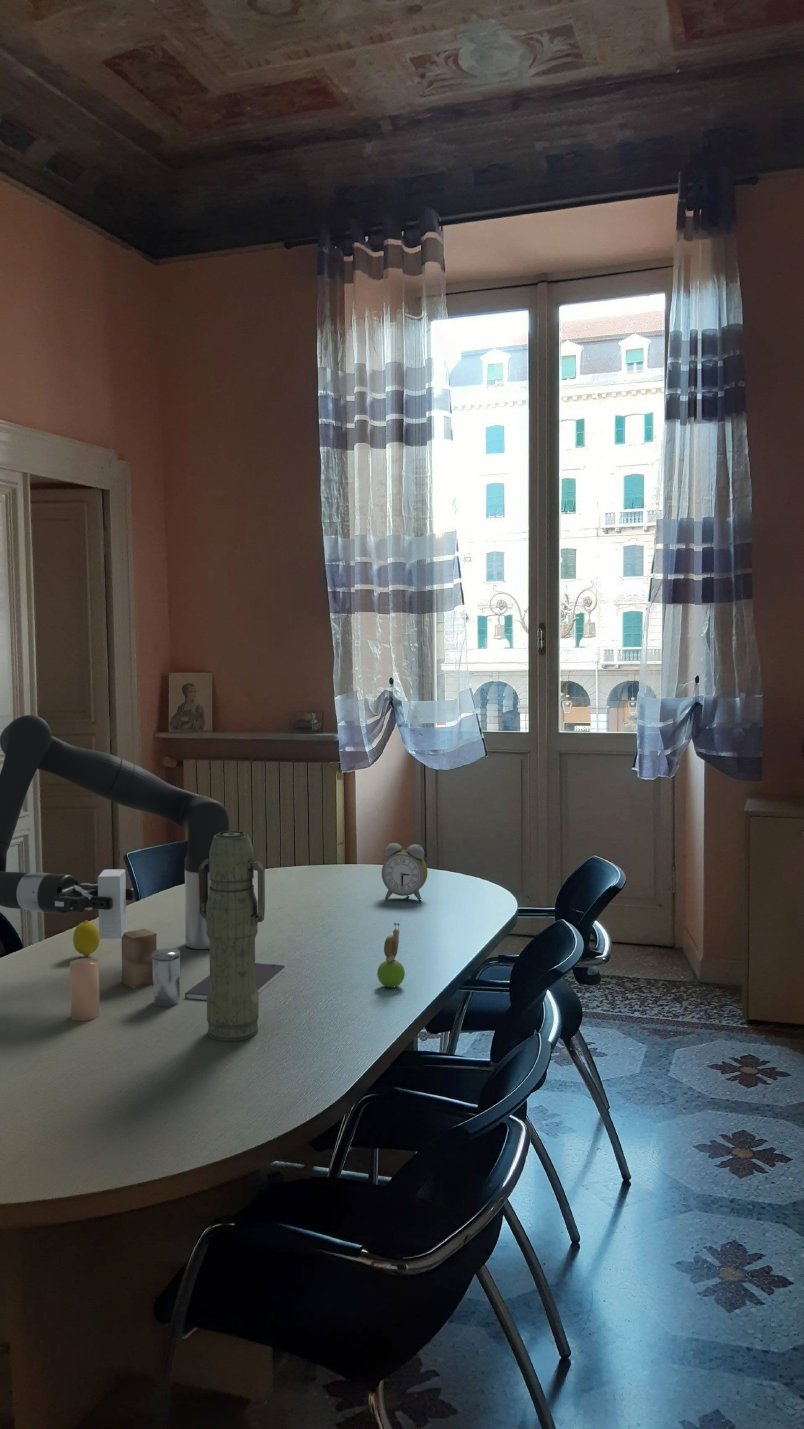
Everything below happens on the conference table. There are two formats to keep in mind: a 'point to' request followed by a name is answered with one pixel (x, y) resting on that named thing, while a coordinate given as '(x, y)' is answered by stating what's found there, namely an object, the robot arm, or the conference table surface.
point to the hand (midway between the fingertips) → (122, 899)
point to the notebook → (262, 980)
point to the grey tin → (166, 977)
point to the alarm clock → (404, 870)
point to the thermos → (232, 934)
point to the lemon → (86, 938)
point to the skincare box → (115, 918)
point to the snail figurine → (391, 962)
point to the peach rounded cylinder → (84, 989)
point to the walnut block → (138, 957)
